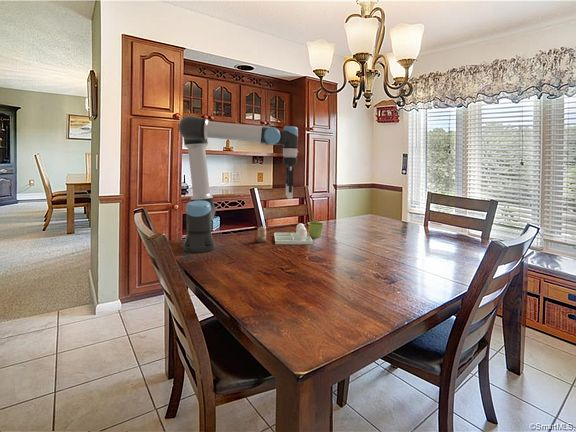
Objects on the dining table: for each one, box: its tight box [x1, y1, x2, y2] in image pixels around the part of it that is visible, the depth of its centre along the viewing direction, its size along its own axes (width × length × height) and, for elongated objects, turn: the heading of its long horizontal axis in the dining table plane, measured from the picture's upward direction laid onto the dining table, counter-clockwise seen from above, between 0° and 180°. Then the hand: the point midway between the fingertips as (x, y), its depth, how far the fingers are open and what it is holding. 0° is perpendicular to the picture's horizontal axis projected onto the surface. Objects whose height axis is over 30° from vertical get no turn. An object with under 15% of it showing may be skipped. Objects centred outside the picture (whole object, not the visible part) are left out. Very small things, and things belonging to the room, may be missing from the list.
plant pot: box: [307, 221, 325, 239], centre depth 199 cm, size 9×9×9 cm
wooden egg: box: [257, 226, 267, 244], centre depth 188 cm, size 5×5×8 cm
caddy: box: [273, 232, 314, 245], centre depth 191 cm, size 20×20×3 cm
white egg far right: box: [298, 226, 308, 241], centre depth 186 cm, size 5×5×8 cm
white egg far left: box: [295, 223, 305, 236], centre depth 195 cm, size 5×5×8 cm
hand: (288, 197), depth 184 cm, fingers open, 13 cm apart
